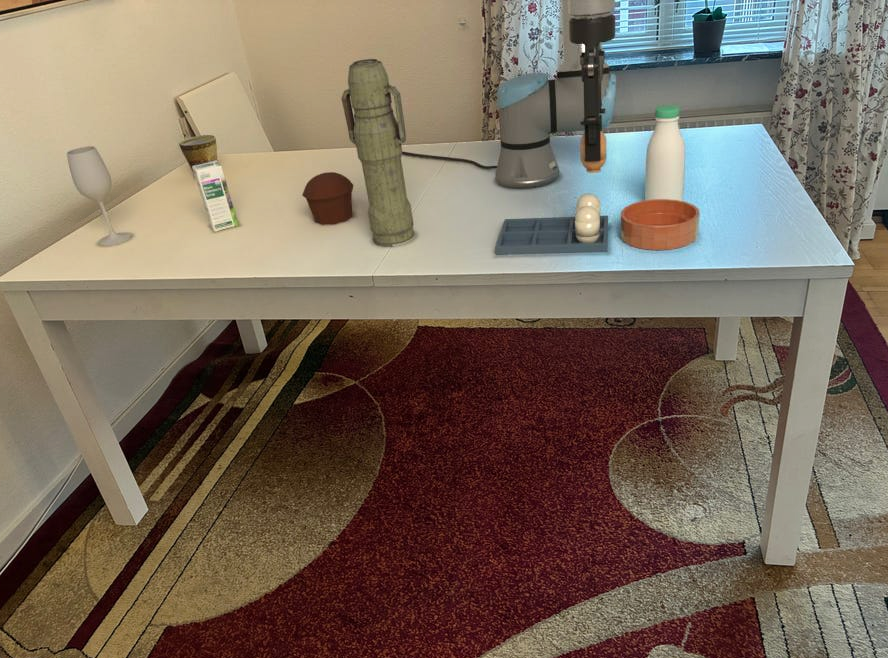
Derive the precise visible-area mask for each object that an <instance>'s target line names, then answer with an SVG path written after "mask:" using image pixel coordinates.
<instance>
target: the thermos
mask: <svg viewBox="0 0 888 658" xmlns="http://www.w3.org/2000/svg"><path fill="white" fill-rule="evenodd" d="M347 84H348V85H347V86H348V88H347V89H345V90H344V91H343V92H342V95H341V103H342V108H343V112H344V117H345V121H346V126H347V127H346V128H347V131H348V138H349V141H350V142H351V143H352V144H353V145H354V146H355V148H356V153H357V154H356V155H357V158H358V160H359V162H360V163H361V167H362V173H363V179H364V184H365V189H366V195H367V200H368V201H367V202H368V210H367V217H368V221H369V227H370V231H371V232H372V237H373V238H372V239H373V243H374V244H375V245H377V246H379V247H380V246H381V247H393V245H399V244H403V243H406V242H408V241H410V240H411V239H413V238H414V237H415V231H414V217H413V211H412V205H411V202H410V201H409V199H408V196H407V190H406V182H405V176H404V175H405V174H404V169H403V162H402V155H403V154H402V151H403V147H402V144H404V143H406V142H407V133H406V126H405V118H404V110H403V104H402V97H401V92H400V91H399V90H398V88H397V87H396V86H393V85H392V84H390V81H389V75H388V73H387V70H386V68H385V66H384V64H383V62H382V61H381V60H378V59H377V58H367V59H360V60H356V61H353V62H352V64H350V65H349V67H348V74H347ZM392 96H393V99H394V107H395V114H396V116H395V114H394V109H393V108H392V102H393V101H392ZM353 112H354V113H353Z"/></svg>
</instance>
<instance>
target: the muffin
mask: <svg viewBox="0 0 888 658" xmlns="http://www.w3.org/2000/svg"><path fill="white" fill-rule="evenodd" d="M353 190H354V183H352V181H351V180H350V179H349V178H348V177H347V176H344V175H343V174H341V173H339V172H334V171H333V172H332V171H329V172H323V173H319V174H316V175H315V176H313V177H311V179H309V180H308V182H307V183H306V185H305V187H304V189H303V192H302V195H301V196H302V197H303V198H305V200H306V202H307V204H308V207H309V209H310V212H311V215H312V218H313V220H314V222H315V223H316V224H319V225H321V226H325V225H326V226H327V225H337V224H340V223H344V222H347V221H348V220H349V219H352V218H353V193H352V192H353Z"/></svg>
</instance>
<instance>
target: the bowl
mask: <svg viewBox="0 0 888 658" xmlns="http://www.w3.org/2000/svg"><path fill="white" fill-rule="evenodd" d="M700 215H701V214H700V209H699V208H698V207H697V206H695V204H692V203H690V202H688V201H685V200H683V201H679V200H671V199H651V200H645V199H644V200H640V201H636V202H634V203H633V202H632V203H630V204H628V205H626V206H624V208H622V210H621V211H620V239H621V240H622V241H623V243H625V244H626V245H629V246H630V247H633V248H637V249H641V250H651V251H669V250H674V249H680V248H683V247H686V246H689V245H691V244H692V243H694V242H695V241H696V240H697V239H698V237H699V230H700V229H699V228H700Z"/></svg>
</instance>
